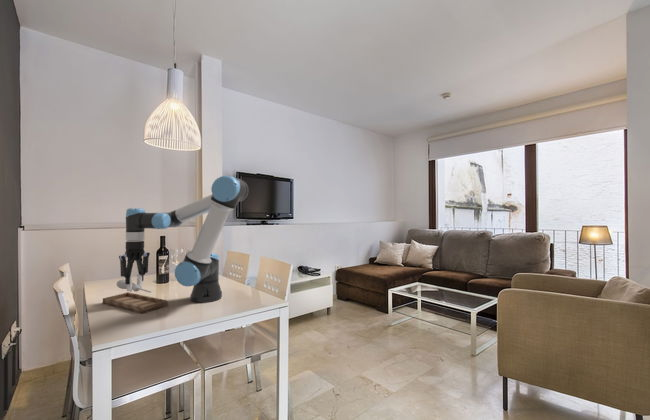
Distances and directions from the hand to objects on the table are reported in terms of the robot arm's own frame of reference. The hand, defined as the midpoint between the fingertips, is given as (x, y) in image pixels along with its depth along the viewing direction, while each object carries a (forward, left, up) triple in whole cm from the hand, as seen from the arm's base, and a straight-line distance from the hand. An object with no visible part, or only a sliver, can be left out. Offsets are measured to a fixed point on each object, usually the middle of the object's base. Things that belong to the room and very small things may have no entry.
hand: (134, 289), depth 142 cm
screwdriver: (0, 0, -1) cm, 1 cm away
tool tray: (0, 0, -7) cm, 7 cm away
